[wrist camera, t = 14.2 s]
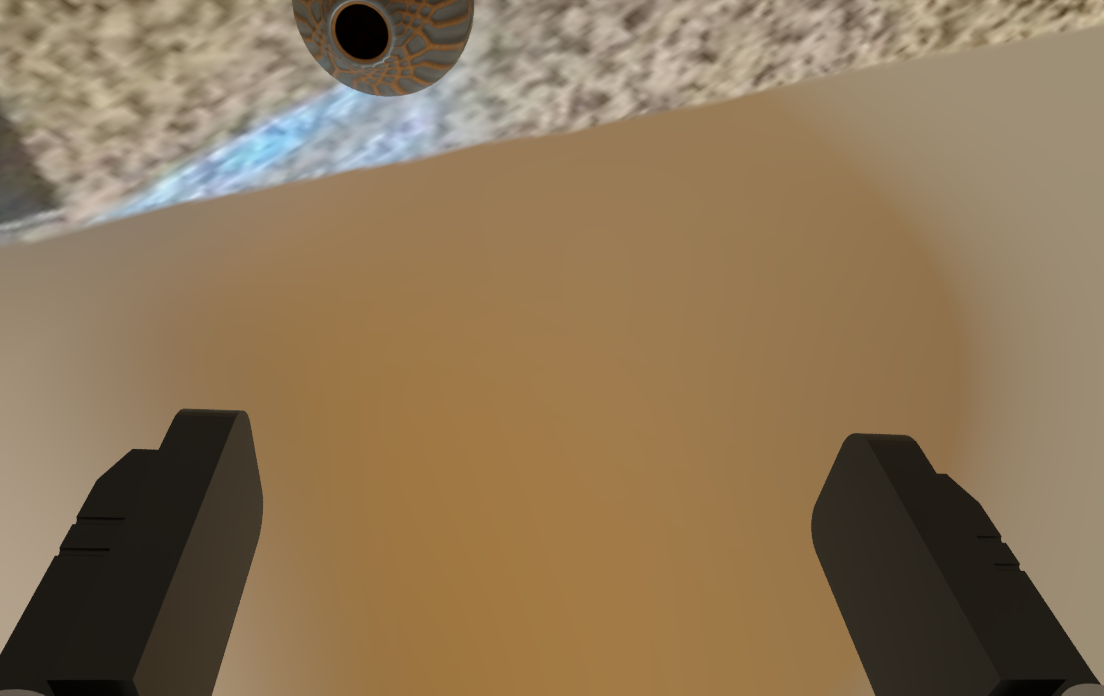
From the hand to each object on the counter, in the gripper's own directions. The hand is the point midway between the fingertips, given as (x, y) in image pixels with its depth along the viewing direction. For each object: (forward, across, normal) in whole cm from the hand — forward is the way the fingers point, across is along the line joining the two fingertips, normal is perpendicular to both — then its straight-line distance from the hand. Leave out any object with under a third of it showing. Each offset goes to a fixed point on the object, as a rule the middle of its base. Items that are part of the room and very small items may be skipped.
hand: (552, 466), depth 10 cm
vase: (+29, +5, 0) cm, 29 cm away
